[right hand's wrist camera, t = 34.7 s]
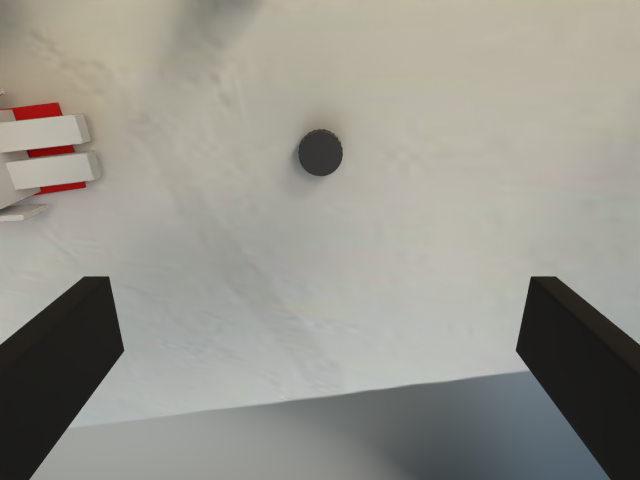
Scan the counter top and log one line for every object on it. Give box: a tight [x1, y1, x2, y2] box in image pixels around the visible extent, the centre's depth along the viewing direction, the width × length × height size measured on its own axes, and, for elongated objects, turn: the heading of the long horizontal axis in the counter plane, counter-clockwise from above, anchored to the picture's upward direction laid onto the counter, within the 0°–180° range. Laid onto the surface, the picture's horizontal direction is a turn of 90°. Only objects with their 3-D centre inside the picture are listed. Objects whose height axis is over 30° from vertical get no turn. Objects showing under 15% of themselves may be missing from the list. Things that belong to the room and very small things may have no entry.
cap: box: [298, 129, 343, 176], centre depth 44 cm, size 5×5×2 cm
